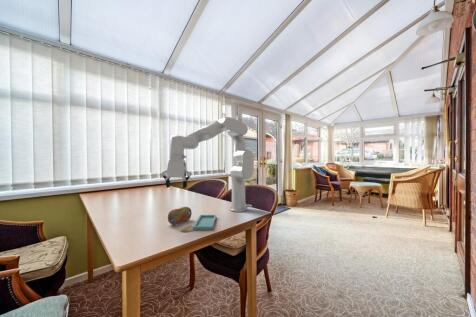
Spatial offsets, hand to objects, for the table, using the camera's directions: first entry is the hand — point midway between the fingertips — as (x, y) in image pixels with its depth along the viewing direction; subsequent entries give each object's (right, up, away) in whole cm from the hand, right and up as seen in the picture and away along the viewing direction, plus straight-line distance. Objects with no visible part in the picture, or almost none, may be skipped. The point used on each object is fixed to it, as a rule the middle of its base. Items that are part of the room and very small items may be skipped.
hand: (176, 187), depth 116 cm
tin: (+2, -20, +1) cm, 21 cm away
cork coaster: (+9, -20, -10) cm, 24 cm away
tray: (+17, -20, 0) cm, 26 cm away
